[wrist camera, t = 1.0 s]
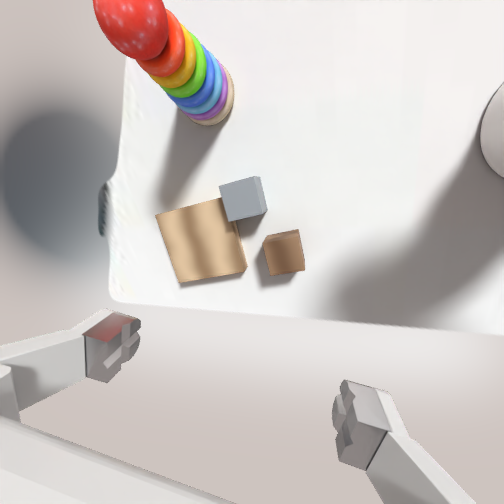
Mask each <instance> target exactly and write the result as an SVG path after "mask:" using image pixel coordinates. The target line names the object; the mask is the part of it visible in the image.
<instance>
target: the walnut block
mask: <svg viewBox="0 0 504 504" xmlns="http://www.w3.org/2000/svg"><path fill="white" fill-rule="evenodd" d="M263 248H264V252H265V256H266V260H267V264H268V268H269V272H270V276H273V275H279V274H285V273H291V272H298V271H304V270H305V259H304V254H303V249H302V245H301V240H300V235H299V230H298V229H297V230H292V231H287V232H282V233H277V234H272V235H268V236H267V237H266V238H265V240H264V242H263Z"/></svg>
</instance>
